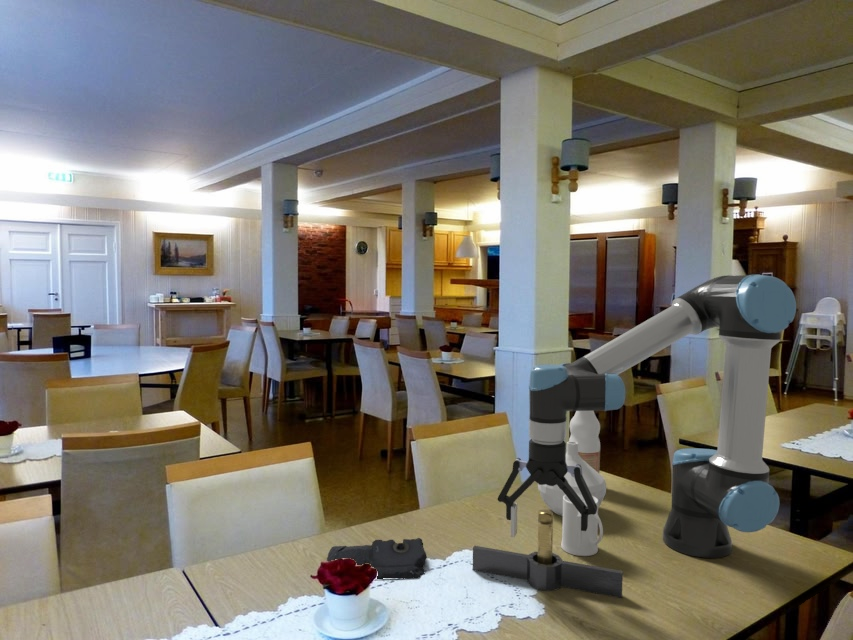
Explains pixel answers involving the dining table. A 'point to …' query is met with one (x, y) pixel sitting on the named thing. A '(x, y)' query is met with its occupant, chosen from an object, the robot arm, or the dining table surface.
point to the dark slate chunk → (387, 557)
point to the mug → (588, 536)
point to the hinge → (548, 571)
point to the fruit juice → (586, 437)
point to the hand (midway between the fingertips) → (545, 540)
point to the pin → (545, 536)
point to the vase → (573, 482)
